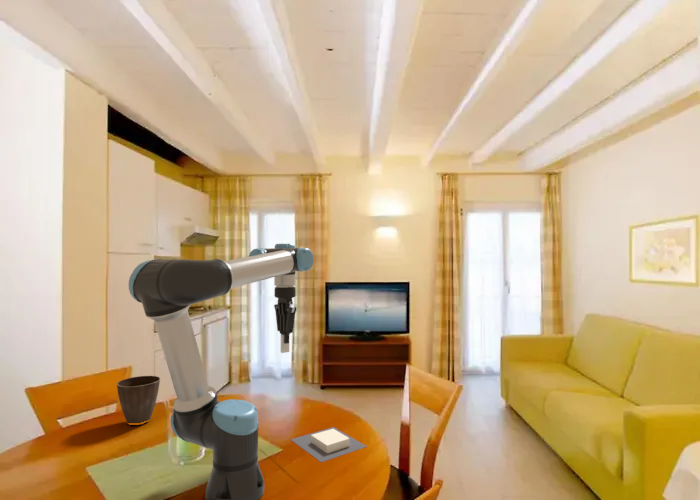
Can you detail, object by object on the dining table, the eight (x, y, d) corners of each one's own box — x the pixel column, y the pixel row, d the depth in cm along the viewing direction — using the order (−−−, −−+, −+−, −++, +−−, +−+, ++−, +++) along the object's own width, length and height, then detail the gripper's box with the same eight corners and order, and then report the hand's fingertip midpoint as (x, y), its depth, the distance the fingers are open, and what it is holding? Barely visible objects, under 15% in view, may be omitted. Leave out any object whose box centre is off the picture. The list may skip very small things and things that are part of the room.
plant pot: (106, 427, 155) (107, 384, 155) (137, 413, 169) (138, 374, 169) (139, 432, 150) (139, 388, 151) (168, 417, 164) (168, 377, 165)
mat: (321, 464, 127) (321, 462, 127) (290, 441, 143) (290, 439, 143) (367, 448, 137) (367, 446, 137) (333, 428, 153) (333, 426, 153)
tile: (311, 442, 140) (327, 453, 132) (311, 434, 140) (327, 445, 132) (333, 435, 145) (349, 446, 137) (333, 428, 146) (349, 438, 137)
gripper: (303, 286, 146) (303, 353, 146) (286, 285, 157) (285, 347, 156) (284, 287, 142) (283, 356, 141) (267, 285, 152) (267, 350, 152)
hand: (284, 352), depth 149 cm, fingers closed
